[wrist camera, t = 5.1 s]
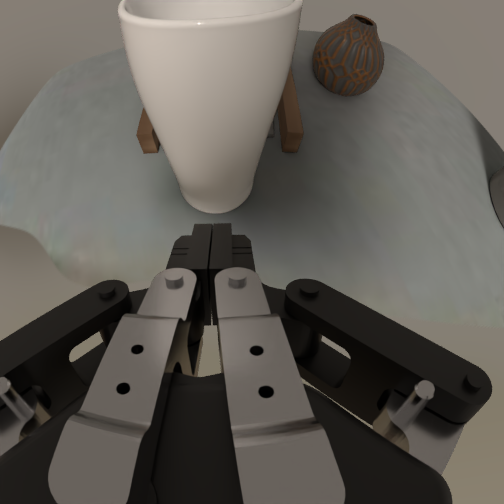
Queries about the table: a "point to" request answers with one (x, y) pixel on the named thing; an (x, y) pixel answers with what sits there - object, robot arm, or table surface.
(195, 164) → the white cup
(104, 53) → the table surface
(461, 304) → the table surface
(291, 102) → the cradle
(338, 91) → the vase
